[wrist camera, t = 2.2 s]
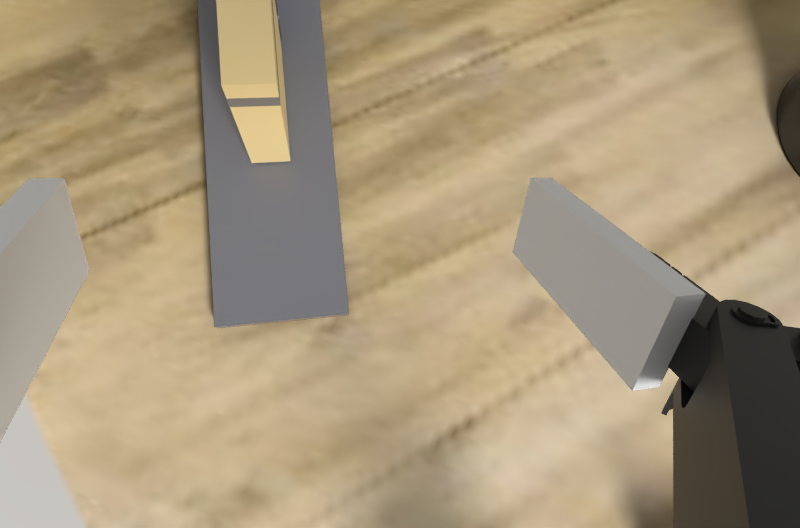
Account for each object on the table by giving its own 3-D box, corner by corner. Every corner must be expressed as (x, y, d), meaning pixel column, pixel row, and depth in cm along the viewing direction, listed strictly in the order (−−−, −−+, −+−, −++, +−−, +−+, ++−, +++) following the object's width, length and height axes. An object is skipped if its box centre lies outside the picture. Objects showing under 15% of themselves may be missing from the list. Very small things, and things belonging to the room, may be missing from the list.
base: (196, -80, 43) (192, -95, 42) (311, -77, 45) (310, -91, 44) (218, 328, 38) (214, 327, 36) (348, 314, 40) (349, 313, 38)
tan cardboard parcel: (243, 46, 40) (211, -73, 29) (281, 46, 41) (264, -72, 29) (251, 163, 39) (220, 85, 27) (290, 161, 39) (277, 84, 28)
